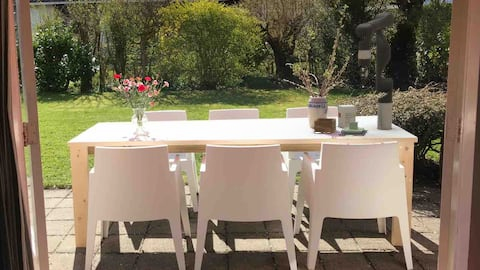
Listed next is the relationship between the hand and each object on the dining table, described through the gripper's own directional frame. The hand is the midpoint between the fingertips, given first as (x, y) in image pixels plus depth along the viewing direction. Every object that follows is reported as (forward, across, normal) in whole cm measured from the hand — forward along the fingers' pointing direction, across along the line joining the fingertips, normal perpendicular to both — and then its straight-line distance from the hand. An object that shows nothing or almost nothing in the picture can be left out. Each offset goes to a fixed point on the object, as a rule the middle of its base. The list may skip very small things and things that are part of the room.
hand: (364, 84), depth 312 cm
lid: (+31, -4, -7) cm, 32 cm away
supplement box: (+32, -25, -14) cm, 43 cm away
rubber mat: (+31, -4, -7) cm, 32 cm away
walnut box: (+31, -5, -25) cm, 40 cm away
